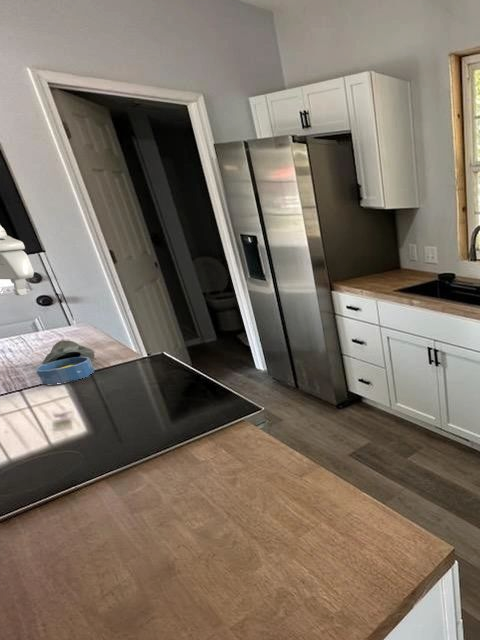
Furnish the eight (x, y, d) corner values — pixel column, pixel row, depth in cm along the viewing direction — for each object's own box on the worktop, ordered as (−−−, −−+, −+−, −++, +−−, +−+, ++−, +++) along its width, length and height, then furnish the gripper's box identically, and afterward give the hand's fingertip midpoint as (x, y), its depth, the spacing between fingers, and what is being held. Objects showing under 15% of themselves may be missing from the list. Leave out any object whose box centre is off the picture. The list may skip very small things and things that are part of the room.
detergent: (99, 364, 143) (95, 347, 159) (89, 346, 140) (86, 330, 156) (46, 379, 134) (48, 360, 150) (34, 360, 131) (37, 342, 147)
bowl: (60, 387, 126) (53, 372, 124) (31, 384, 128) (24, 370, 127) (105, 371, 137) (99, 357, 135) (77, 369, 140) (71, 355, 138)
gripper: (-58, 245, 110) (-32, 296, 114) (-5, 245, 105) (20, 297, 110) (-25, 243, 115) (-1, 291, 120) (27, 242, 111) (49, 292, 116)
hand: (9, 294), depth 115 cm, fingers open, 8 cm apart
